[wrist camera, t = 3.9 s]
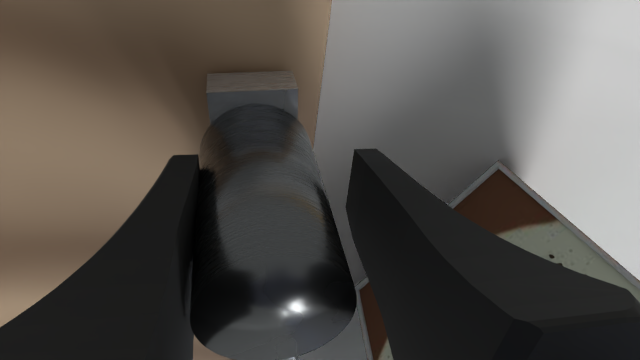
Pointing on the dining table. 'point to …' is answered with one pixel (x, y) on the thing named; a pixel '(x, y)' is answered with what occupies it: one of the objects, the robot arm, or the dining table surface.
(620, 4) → the dining table surface
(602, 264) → the food container
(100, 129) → the walnut board
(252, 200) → the lever
